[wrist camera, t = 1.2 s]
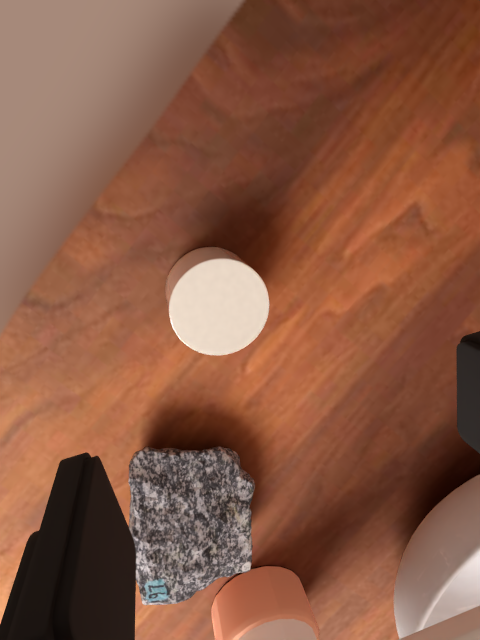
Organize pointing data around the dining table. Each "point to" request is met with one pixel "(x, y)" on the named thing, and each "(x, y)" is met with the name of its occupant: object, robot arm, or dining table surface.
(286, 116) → the dining table surface
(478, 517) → the serving bowl
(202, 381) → the dining table surface
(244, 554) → the rock
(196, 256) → the white cylinder puck
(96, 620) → the robot arm
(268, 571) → the pepper shaker
